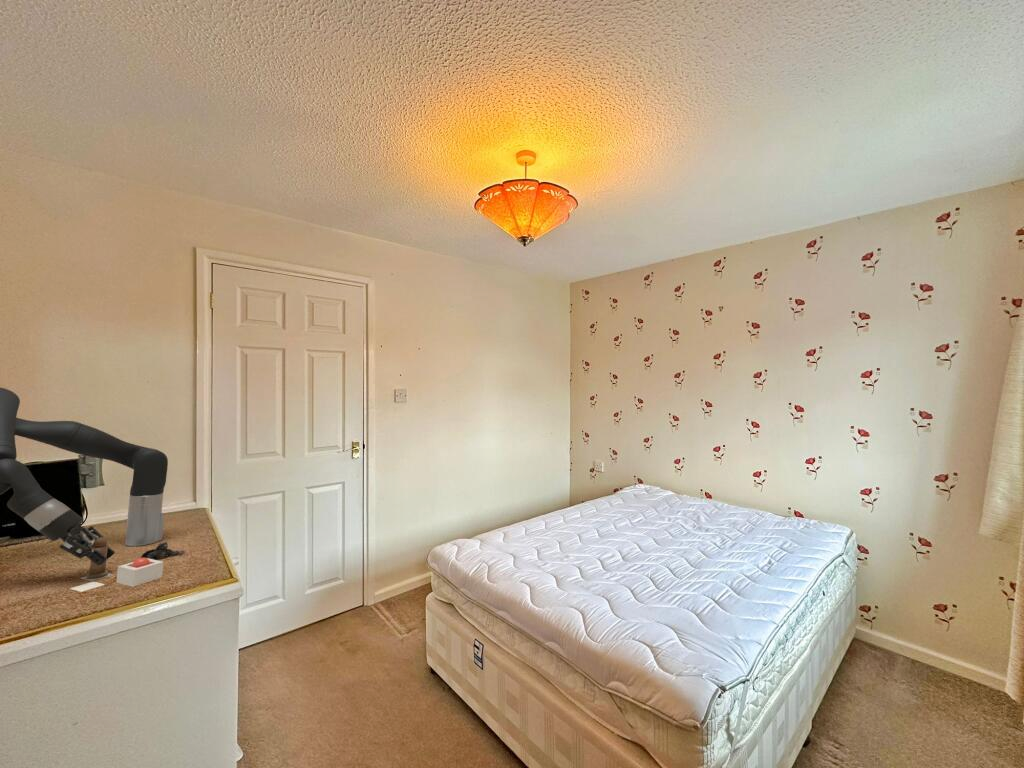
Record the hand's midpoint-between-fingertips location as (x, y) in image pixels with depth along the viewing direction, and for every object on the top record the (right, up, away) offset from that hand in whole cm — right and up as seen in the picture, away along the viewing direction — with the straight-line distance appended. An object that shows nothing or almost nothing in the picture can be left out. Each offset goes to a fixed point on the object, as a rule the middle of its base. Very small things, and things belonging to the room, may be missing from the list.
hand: (107, 558), depth 119 cm
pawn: (-2, -4, -1) cm, 5 cm away
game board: (+5, -5, -4) cm, 8 cm away
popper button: (+11, -4, -2) cm, 12 cm away
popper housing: (+11, -6, -2) cm, 13 cm away
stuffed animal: (+3, -7, +15) cm, 17 cm away
